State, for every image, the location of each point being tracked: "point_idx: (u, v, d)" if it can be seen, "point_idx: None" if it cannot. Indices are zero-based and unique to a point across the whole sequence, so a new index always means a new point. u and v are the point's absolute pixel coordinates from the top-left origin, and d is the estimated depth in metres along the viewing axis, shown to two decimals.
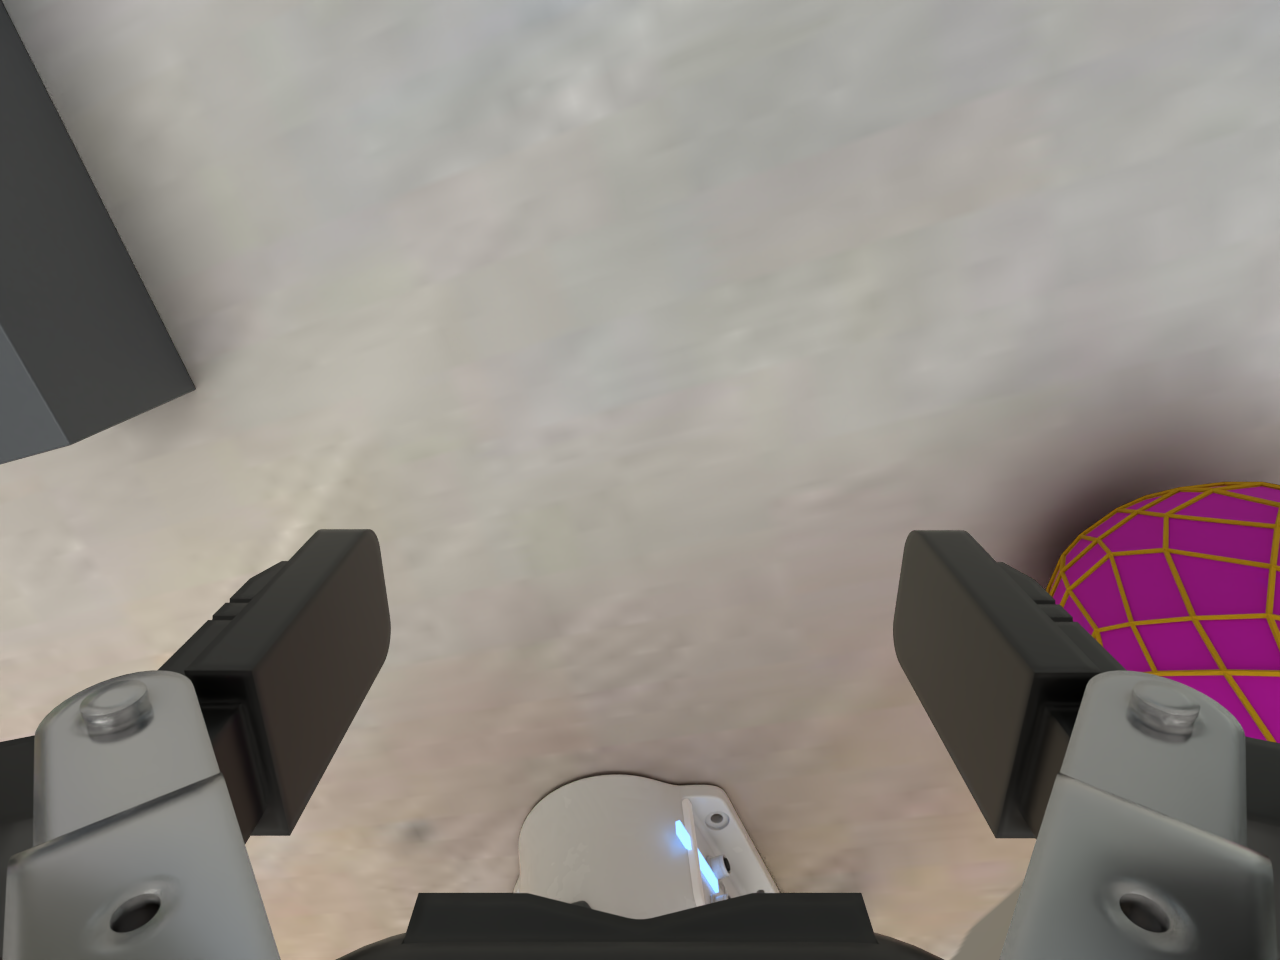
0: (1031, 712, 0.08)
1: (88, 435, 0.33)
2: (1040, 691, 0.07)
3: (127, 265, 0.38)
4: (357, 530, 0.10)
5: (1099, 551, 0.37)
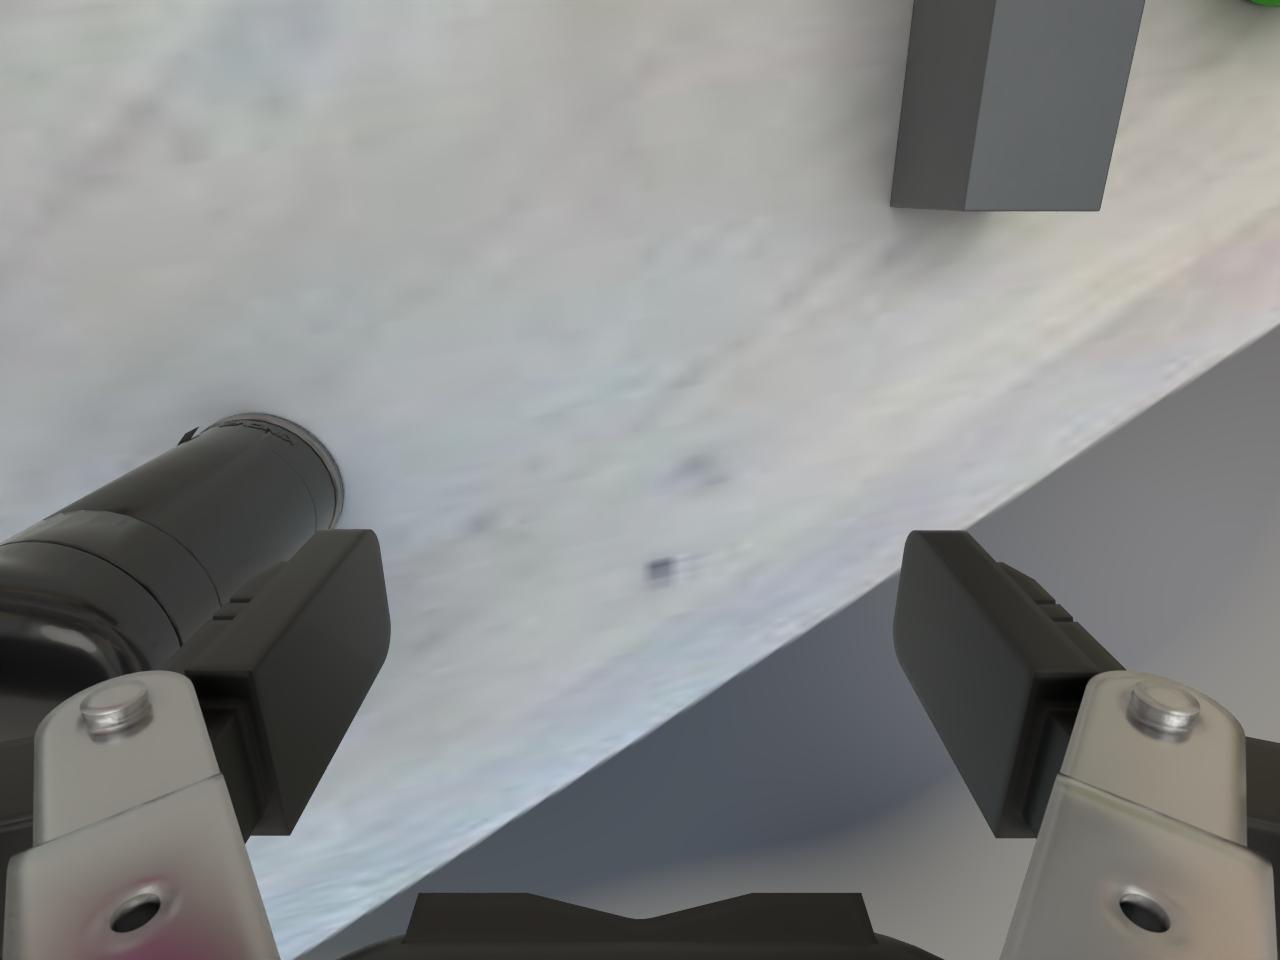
0: (1031, 712, 0.08)
1: None
2: (1040, 691, 0.07)
3: None
4: (357, 530, 0.10)
5: None
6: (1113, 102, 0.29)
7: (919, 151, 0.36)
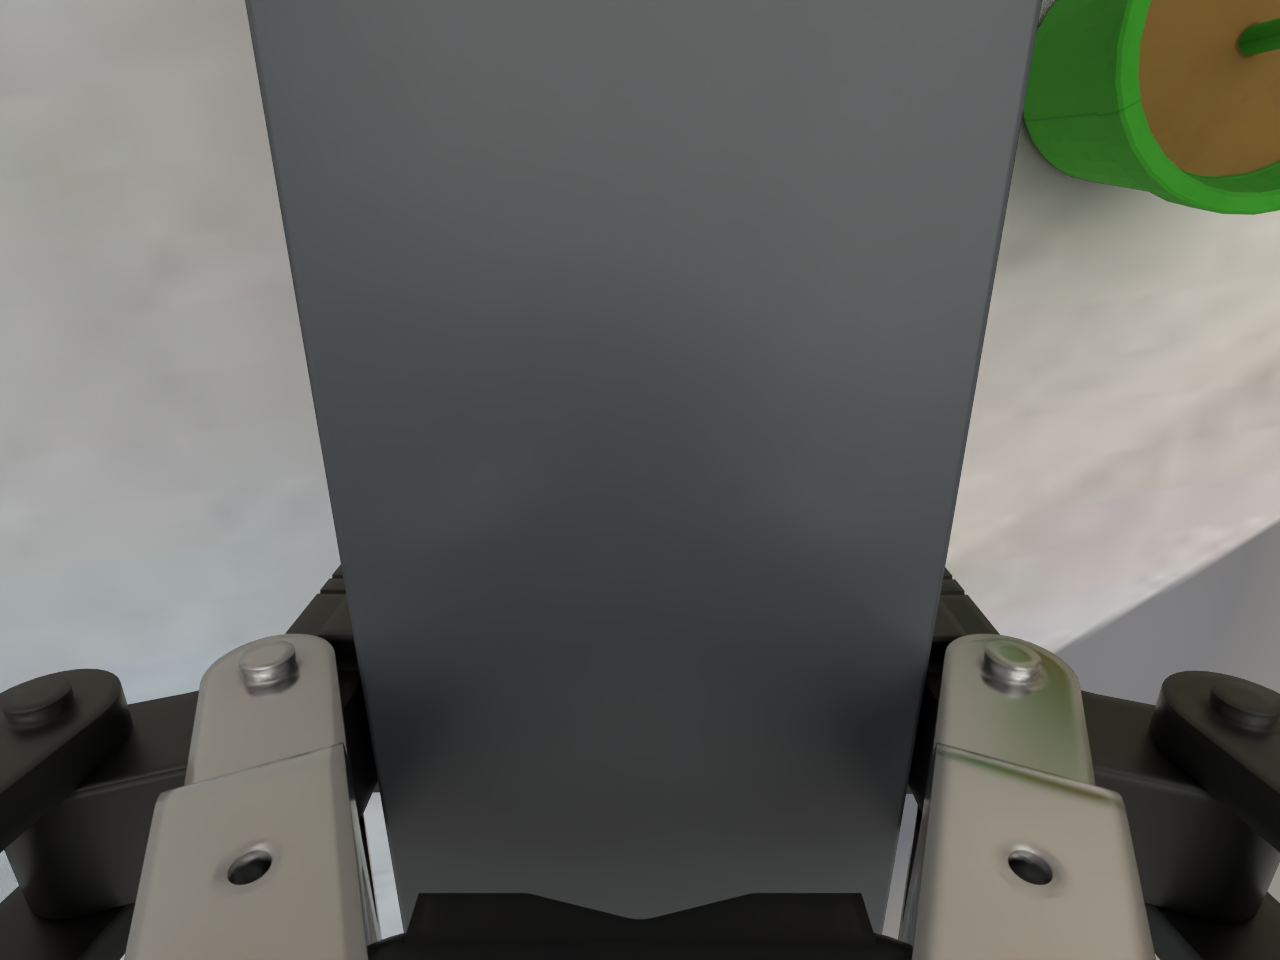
0: None
1: None
2: None
3: None
4: None
5: None
6: (884, 695, 0.07)
7: None
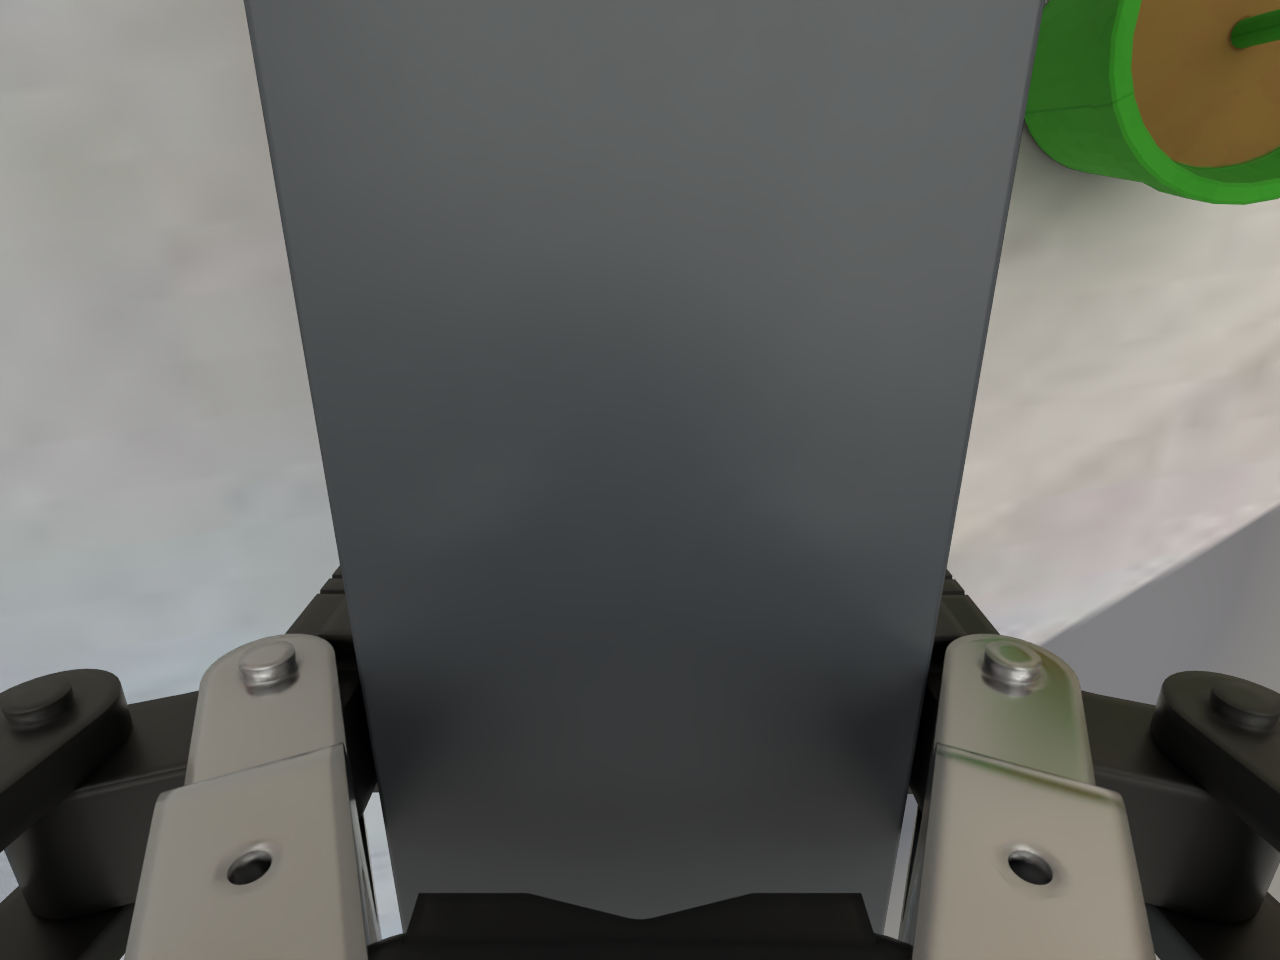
0: None
1: None
2: None
3: None
4: None
5: None
6: (886, 697, 0.07)
7: None
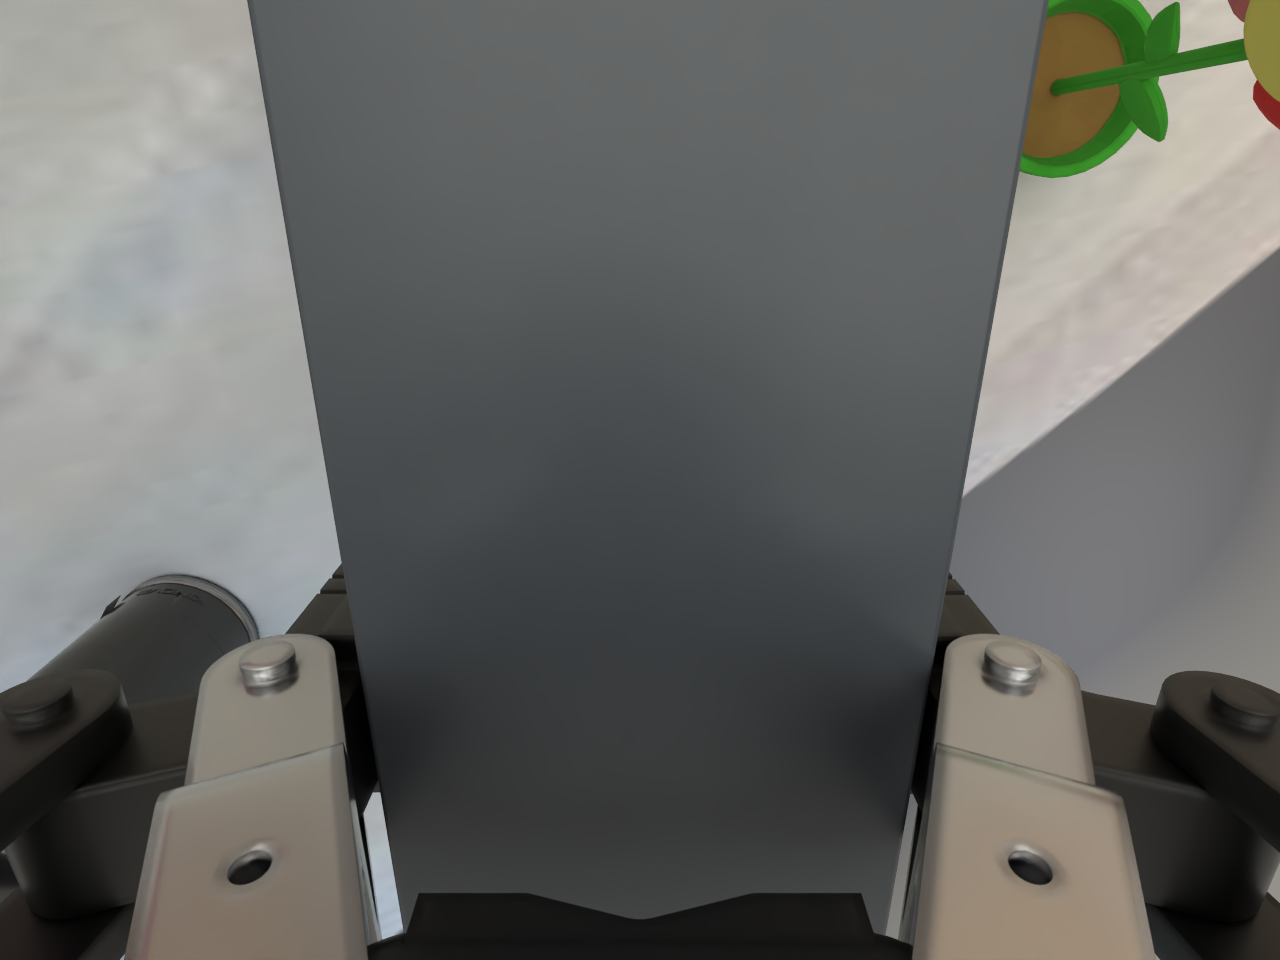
0: None
1: None
2: None
3: None
4: None
5: None
6: (888, 696, 0.07)
7: None
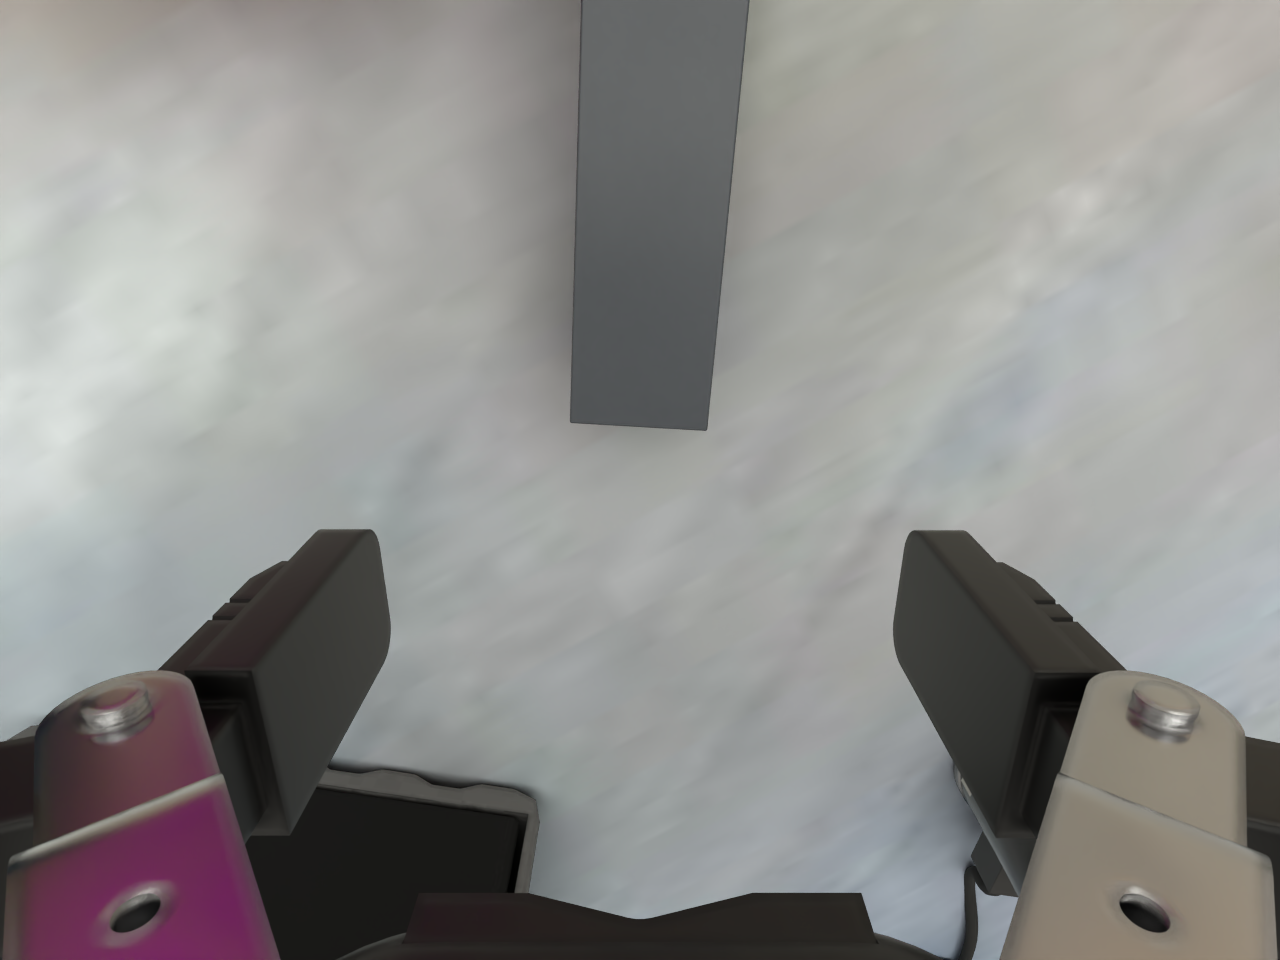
0: (1031, 712, 0.08)
1: None
2: (1040, 691, 0.07)
3: None
4: (357, 530, 0.10)
5: None
6: (706, 333, 0.29)
7: None
